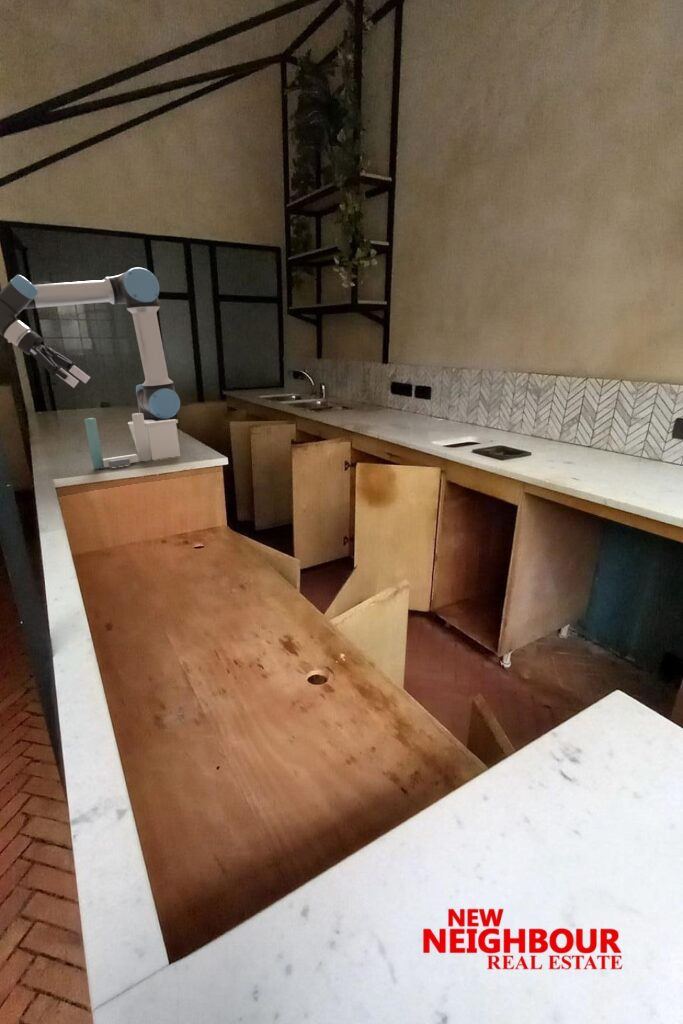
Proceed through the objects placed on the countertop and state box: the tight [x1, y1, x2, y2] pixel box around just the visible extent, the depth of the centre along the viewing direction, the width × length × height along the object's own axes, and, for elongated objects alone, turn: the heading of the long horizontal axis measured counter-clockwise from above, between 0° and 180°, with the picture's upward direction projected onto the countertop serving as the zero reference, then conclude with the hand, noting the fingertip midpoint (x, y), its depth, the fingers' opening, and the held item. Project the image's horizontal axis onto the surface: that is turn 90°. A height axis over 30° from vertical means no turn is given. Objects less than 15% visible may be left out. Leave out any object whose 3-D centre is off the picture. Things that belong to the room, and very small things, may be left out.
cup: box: [127, 420, 154, 450], centre depth 188 cm, size 10×10×11 cm
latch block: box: [108, 458, 131, 469], centre depth 165 cm, size 6×2×2 cm, turn 130°
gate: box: [84, 412, 151, 470], centre depth 165 cm, size 18×4×16 cm, turn 131°
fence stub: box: [145, 418, 181, 460], centre depth 175 cm, size 11×3×13 cm, turn 130°
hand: (82, 382), depth 173 cm, fingers open, 13 cm apart
